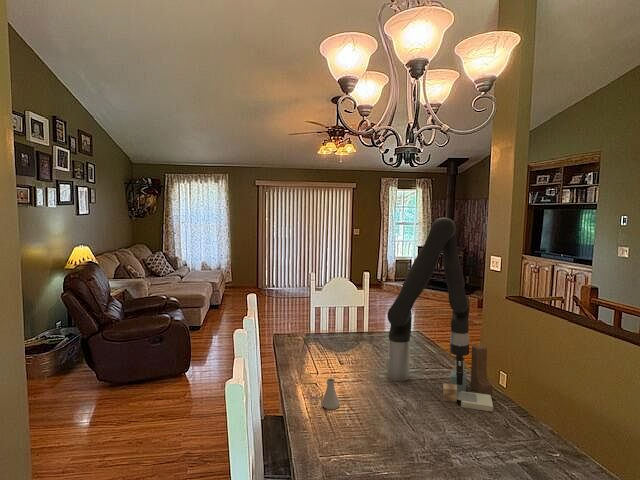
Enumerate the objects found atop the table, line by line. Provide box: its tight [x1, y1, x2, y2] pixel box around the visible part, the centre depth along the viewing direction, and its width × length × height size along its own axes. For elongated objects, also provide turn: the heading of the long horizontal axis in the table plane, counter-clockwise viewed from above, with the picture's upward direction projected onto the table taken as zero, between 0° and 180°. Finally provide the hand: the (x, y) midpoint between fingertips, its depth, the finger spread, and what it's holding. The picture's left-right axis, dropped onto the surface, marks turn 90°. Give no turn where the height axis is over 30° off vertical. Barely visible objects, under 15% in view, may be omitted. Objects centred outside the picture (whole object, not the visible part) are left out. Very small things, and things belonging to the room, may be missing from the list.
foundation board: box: [457, 391, 494, 413], centre depth 153 cm, size 13×10×2 cm
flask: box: [321, 377, 341, 410], centre depth 150 cm, size 7×7×10 cm
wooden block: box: [470, 344, 493, 396], centre depth 163 cm, size 9×4×18 cm, turn 8°
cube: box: [449, 370, 467, 392], centre depth 166 cm, size 6×6×6 cm
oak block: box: [442, 382, 458, 403], centre depth 157 cm, size 5×5×5 cm
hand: (459, 380), depth 166 cm, fingers open, 8 cm apart
